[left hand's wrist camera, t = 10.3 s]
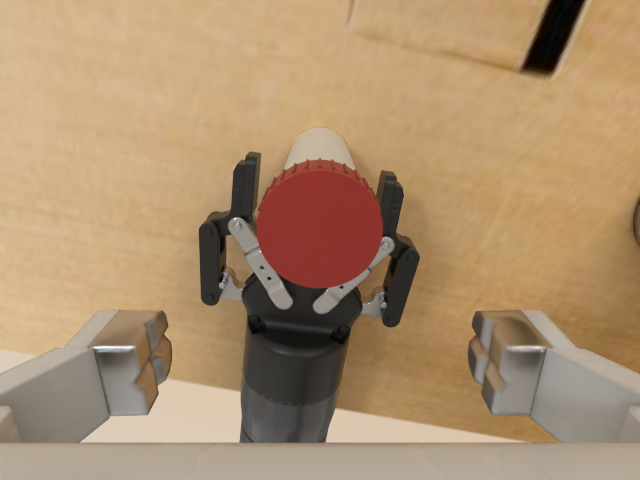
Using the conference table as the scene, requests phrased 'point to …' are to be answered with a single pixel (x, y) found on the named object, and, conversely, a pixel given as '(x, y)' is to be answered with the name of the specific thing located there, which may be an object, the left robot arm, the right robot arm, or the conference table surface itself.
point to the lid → (319, 224)
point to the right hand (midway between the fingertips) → (321, 163)
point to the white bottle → (319, 148)
